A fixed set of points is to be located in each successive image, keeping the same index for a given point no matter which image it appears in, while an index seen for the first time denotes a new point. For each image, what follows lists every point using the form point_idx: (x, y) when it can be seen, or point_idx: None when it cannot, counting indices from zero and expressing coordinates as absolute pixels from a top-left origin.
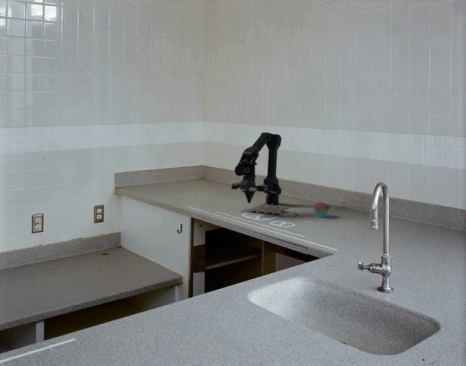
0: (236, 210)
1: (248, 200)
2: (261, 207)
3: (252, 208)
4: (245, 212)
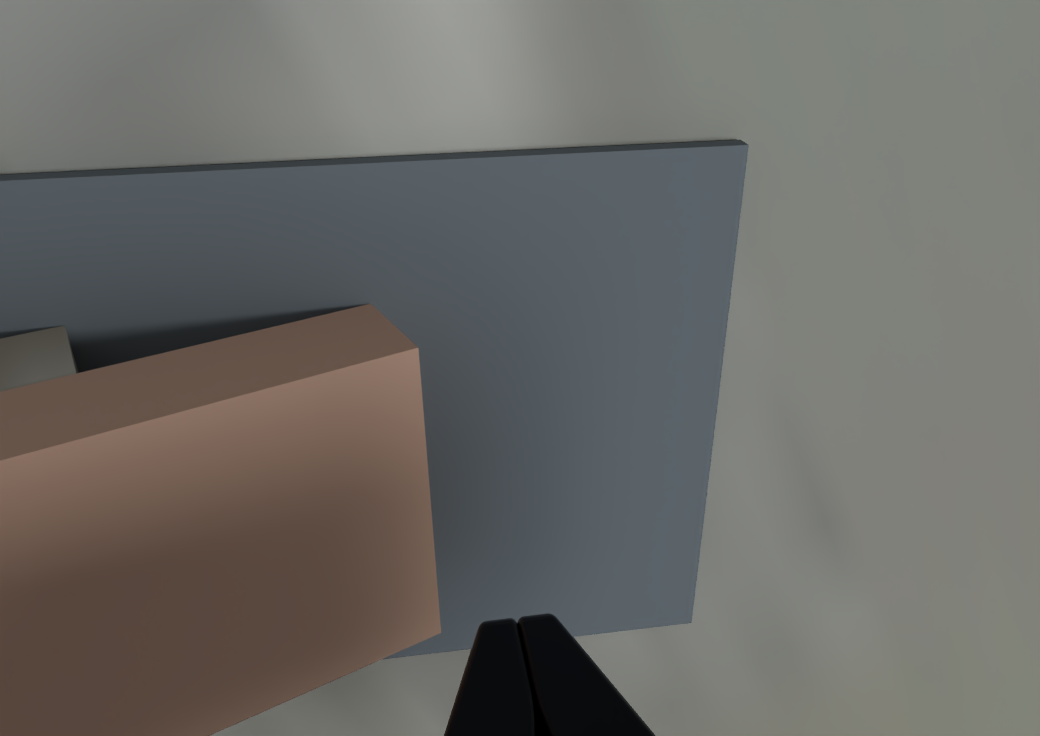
0: (898, 352)
1: (547, 707)
2: None
3: (233, 386)
4: (471, 158)
